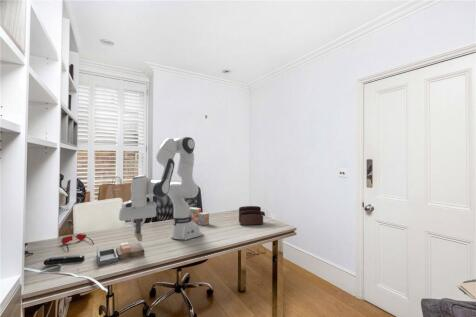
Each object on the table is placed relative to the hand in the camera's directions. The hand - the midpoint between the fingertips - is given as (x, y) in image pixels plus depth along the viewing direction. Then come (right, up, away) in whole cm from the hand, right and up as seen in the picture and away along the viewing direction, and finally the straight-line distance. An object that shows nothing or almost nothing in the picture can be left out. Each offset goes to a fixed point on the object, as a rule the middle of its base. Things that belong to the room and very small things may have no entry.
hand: (138, 226), depth 132 cm
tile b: (-4, -12, -6) cm, 14 cm away
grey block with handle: (0, -7, 0) cm, 7 cm away
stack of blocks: (+24, -17, +64) cm, 70 cm away
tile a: (-7, -12, -1) cm, 14 cm away
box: (-13, -15, -9) cm, 22 cm away
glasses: (-44, -16, +12) cm, 49 cm away
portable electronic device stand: (-33, -16, -13) cm, 39 cm away
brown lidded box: (+70, -17, +63) cm, 96 cm away
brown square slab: (-4, -15, -2) cm, 16 cm away
